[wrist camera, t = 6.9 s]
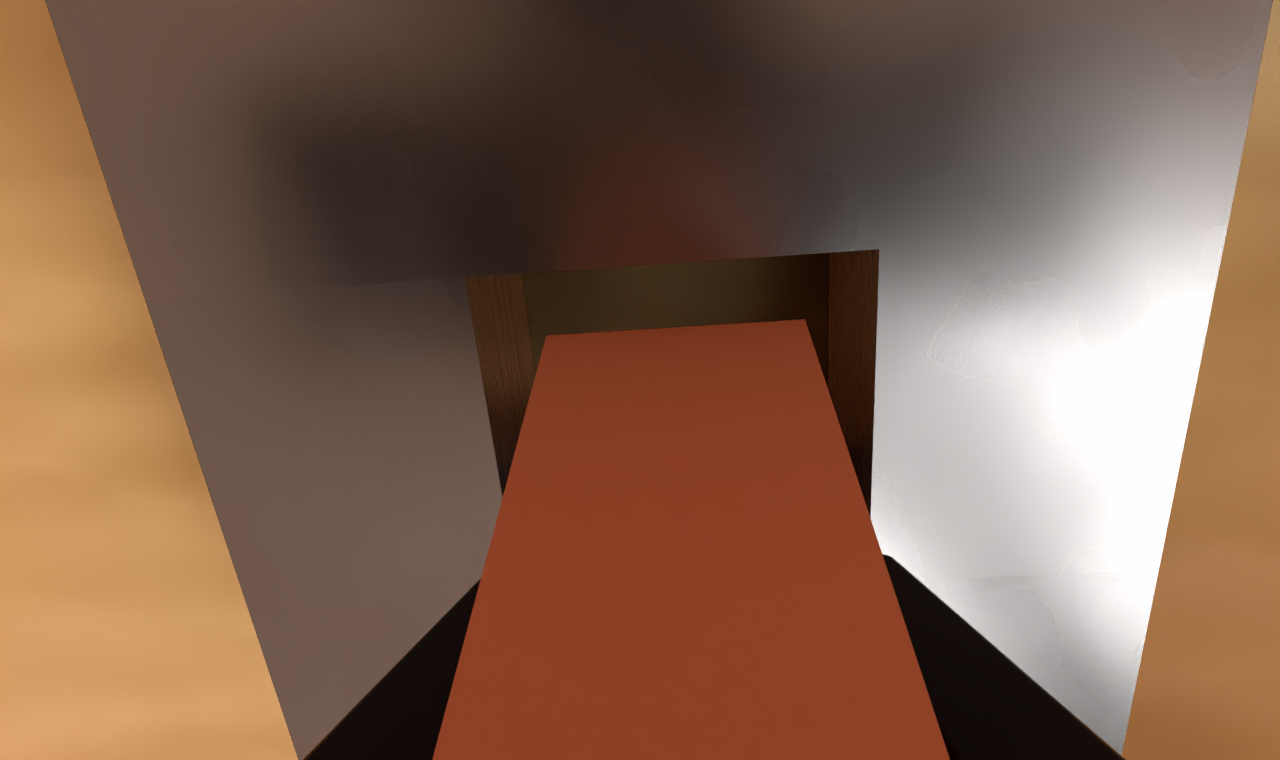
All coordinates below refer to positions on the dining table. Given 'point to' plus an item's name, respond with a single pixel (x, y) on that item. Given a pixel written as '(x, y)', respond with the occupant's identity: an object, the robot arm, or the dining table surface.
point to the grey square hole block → (677, 233)
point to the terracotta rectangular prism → (685, 567)
